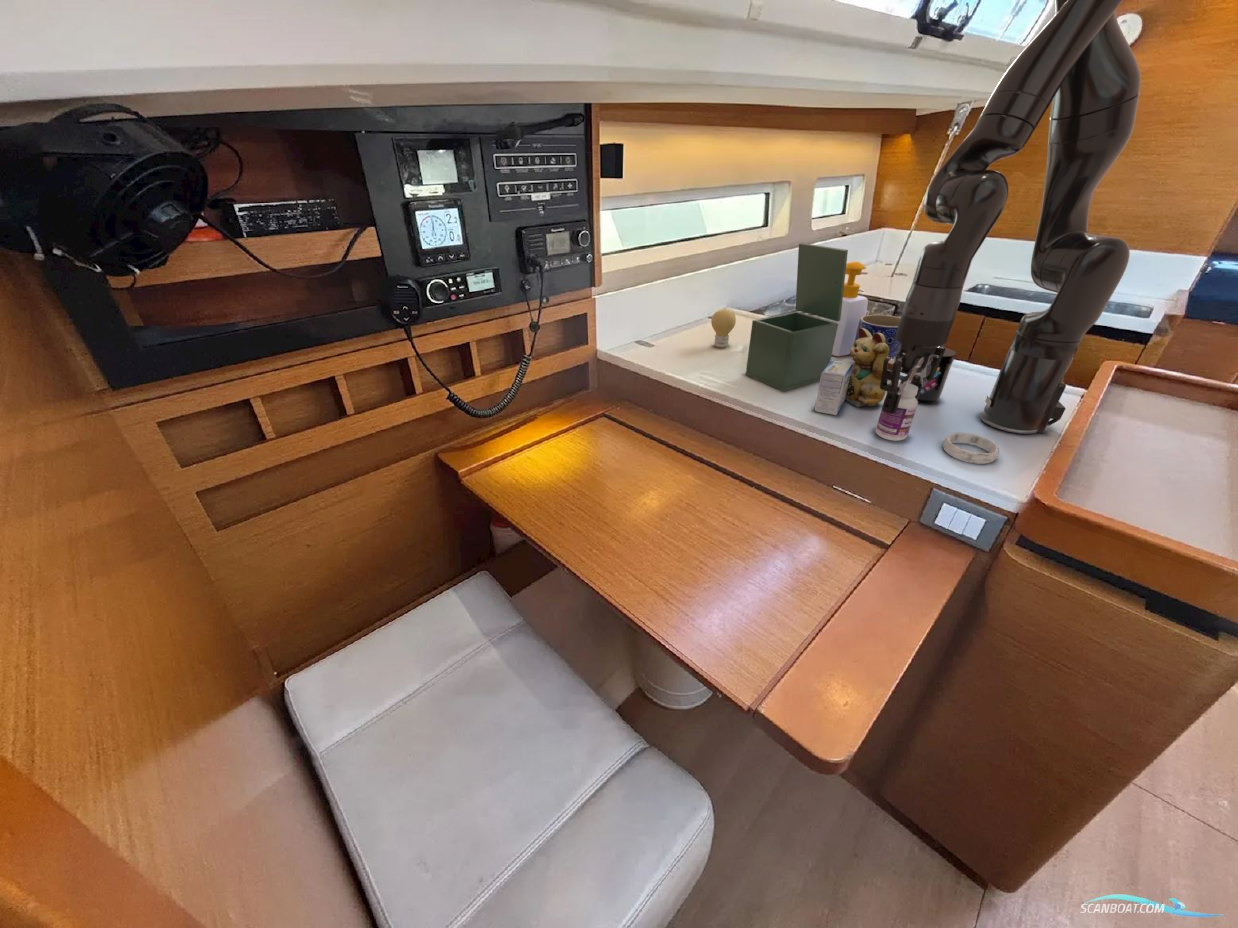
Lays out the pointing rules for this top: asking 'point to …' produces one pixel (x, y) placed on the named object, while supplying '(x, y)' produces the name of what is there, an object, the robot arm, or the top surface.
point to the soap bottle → (849, 311)
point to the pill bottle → (899, 416)
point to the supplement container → (937, 379)
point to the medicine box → (833, 387)
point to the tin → (790, 349)
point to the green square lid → (820, 280)
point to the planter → (882, 330)
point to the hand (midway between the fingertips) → (899, 407)
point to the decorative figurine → (867, 369)
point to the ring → (968, 455)
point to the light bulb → (723, 326)
